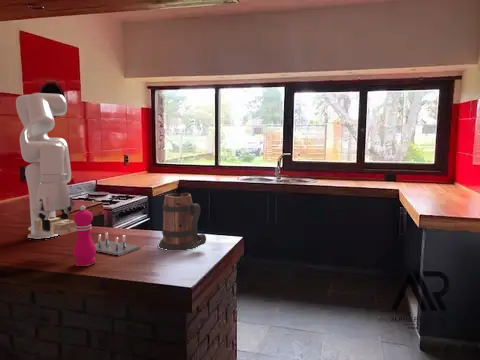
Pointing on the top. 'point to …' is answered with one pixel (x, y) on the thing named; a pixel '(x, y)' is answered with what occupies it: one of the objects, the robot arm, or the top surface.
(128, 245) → the chassis
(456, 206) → the top surface
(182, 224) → the tankard
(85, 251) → the pepper mill
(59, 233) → the tan rectangular block
